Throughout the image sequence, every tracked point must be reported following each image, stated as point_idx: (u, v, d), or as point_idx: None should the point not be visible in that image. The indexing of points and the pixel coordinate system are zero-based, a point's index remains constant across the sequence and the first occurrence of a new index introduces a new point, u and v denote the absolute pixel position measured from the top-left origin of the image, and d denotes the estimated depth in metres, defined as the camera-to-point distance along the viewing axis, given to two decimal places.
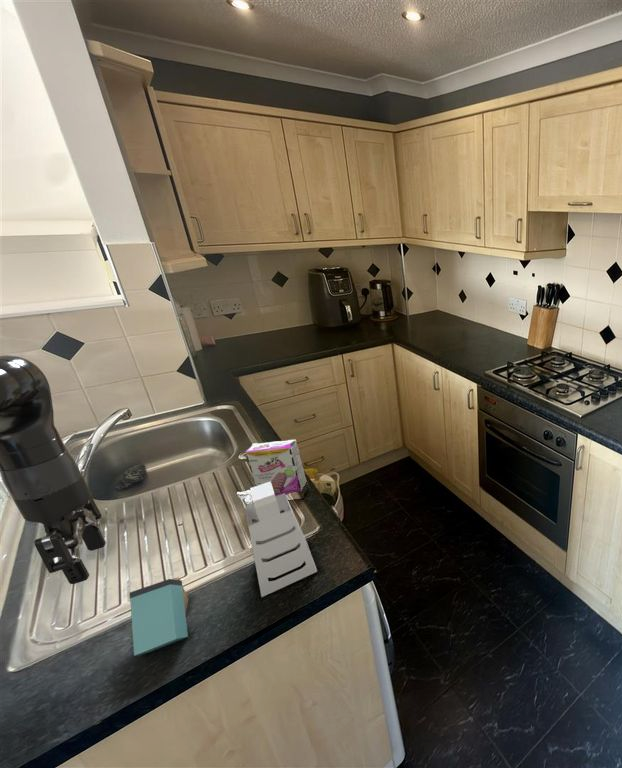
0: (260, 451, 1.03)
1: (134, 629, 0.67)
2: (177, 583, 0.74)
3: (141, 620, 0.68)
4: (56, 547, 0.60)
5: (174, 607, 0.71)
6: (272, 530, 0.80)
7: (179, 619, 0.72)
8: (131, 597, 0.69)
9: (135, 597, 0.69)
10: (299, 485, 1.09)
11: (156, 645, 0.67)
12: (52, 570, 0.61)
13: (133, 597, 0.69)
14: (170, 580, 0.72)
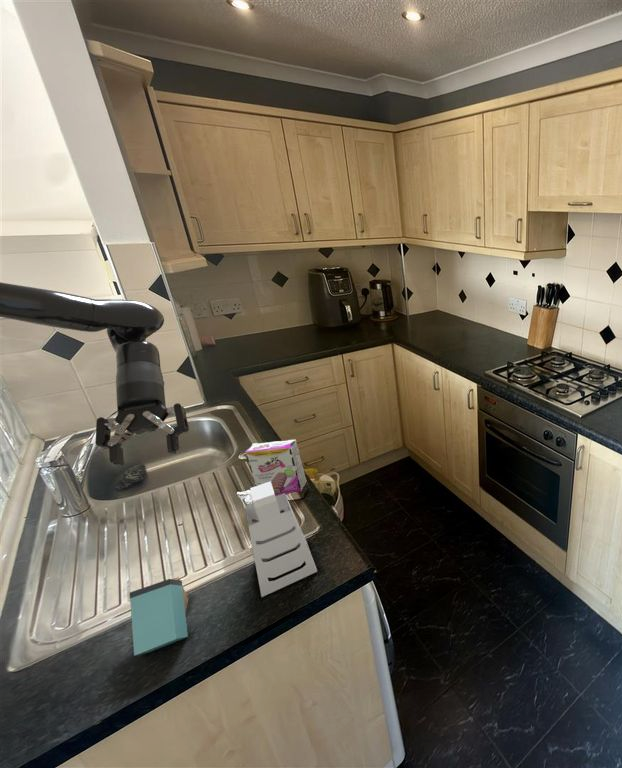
0: (260, 451, 1.03)
1: (134, 629, 0.67)
2: (177, 583, 0.74)
3: (141, 620, 0.68)
4: (185, 413, 0.87)
5: (174, 607, 0.71)
6: (272, 530, 0.80)
7: (179, 619, 0.72)
8: (131, 597, 0.69)
9: (135, 597, 0.69)
10: (299, 485, 1.09)
11: (156, 645, 0.67)
12: (185, 425, 0.85)
13: (133, 597, 0.69)
14: (170, 580, 0.72)
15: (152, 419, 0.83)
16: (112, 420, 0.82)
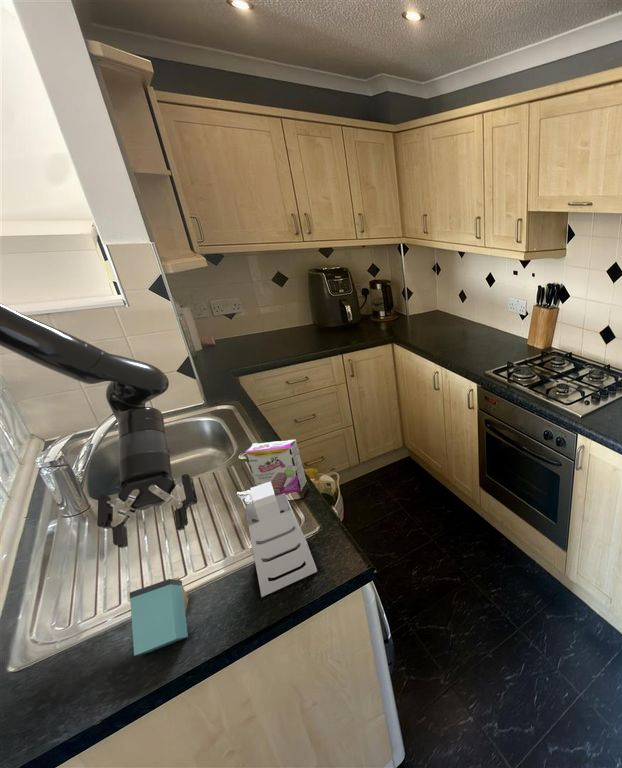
0: (260, 451, 1.03)
1: (134, 629, 0.67)
2: (178, 583, 0.74)
3: (141, 620, 0.68)
4: (193, 483, 0.82)
5: (174, 607, 0.71)
6: (272, 530, 0.80)
7: (179, 619, 0.72)
8: (131, 597, 0.69)
9: (135, 597, 0.69)
10: (299, 485, 1.09)
11: (156, 645, 0.67)
12: (194, 498, 0.80)
13: (133, 597, 0.69)
14: (170, 580, 0.72)
15: (159, 493, 0.78)
16: (114, 497, 0.76)
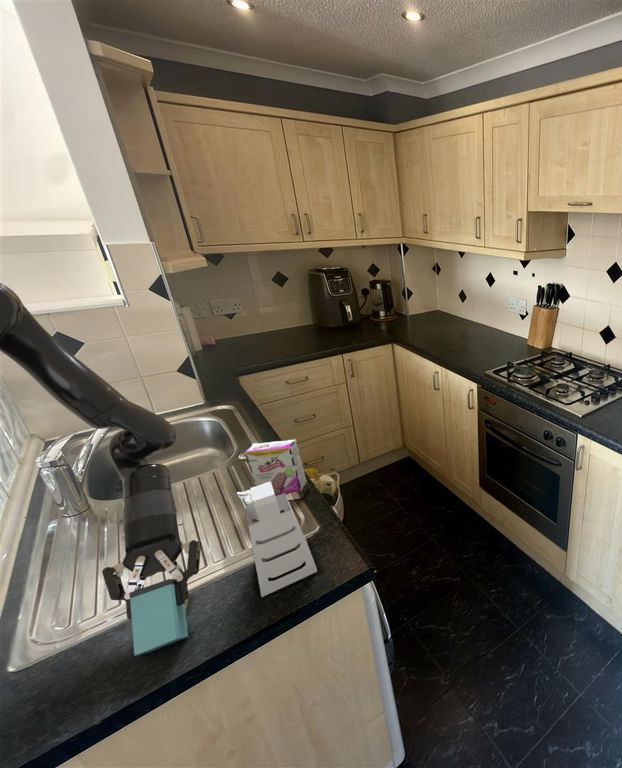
0: (260, 451, 1.03)
1: (134, 629, 0.67)
2: None
3: (141, 620, 0.68)
4: (199, 550, 0.78)
5: (174, 607, 0.71)
6: (272, 530, 0.80)
7: (179, 619, 0.72)
8: (131, 597, 0.69)
9: (135, 597, 0.69)
10: (299, 485, 1.09)
11: (156, 645, 0.67)
12: (195, 569, 0.75)
13: (133, 597, 0.69)
14: (170, 580, 0.72)
15: (163, 561, 0.73)
16: (119, 567, 0.72)
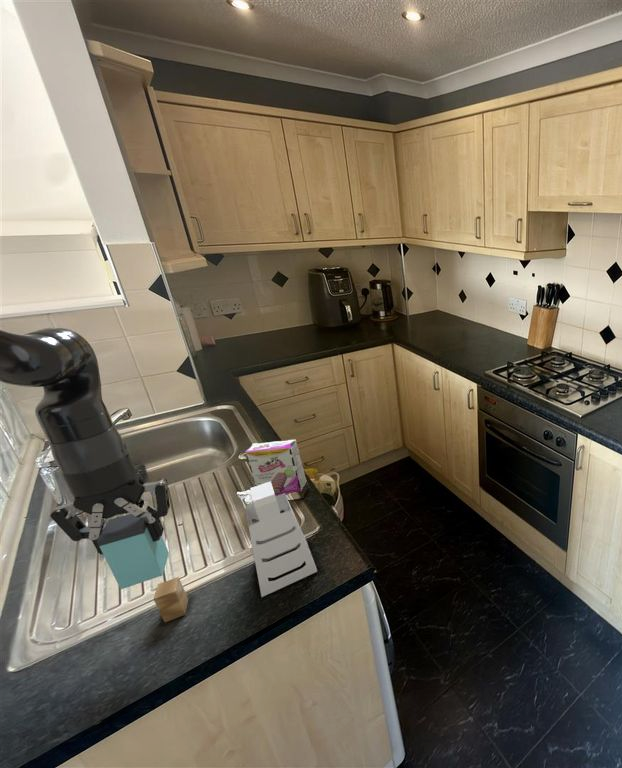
0: (260, 451, 1.03)
1: (113, 570, 0.65)
2: None
3: (119, 563, 0.65)
4: (167, 488, 0.69)
5: (153, 548, 0.68)
6: (272, 530, 0.80)
7: (159, 551, 0.70)
8: (100, 545, 0.63)
9: (105, 545, 0.64)
10: (299, 485, 1.09)
11: (142, 581, 0.68)
12: (167, 511, 0.69)
13: (103, 545, 0.64)
14: (143, 528, 0.66)
15: (127, 507, 0.65)
16: (71, 508, 0.62)
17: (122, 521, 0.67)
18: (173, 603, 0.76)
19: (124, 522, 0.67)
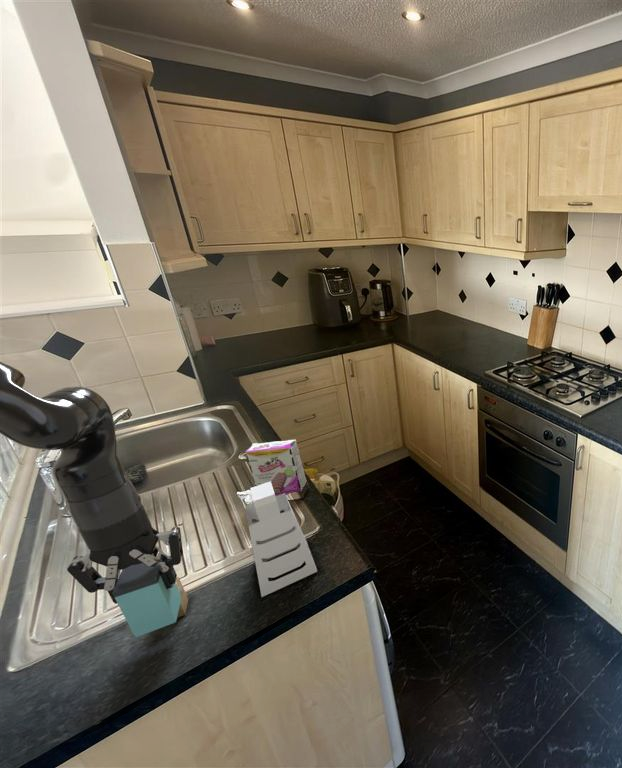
0: (260, 451, 1.03)
1: (128, 620, 0.66)
2: None
3: (134, 613, 0.66)
4: (180, 536, 0.70)
5: (167, 596, 0.69)
6: (272, 530, 0.80)
7: (173, 597, 0.71)
8: (115, 596, 0.64)
9: (120, 596, 0.65)
10: (299, 485, 1.09)
11: (156, 628, 0.69)
12: (180, 559, 0.70)
13: (118, 596, 0.65)
14: (156, 578, 0.67)
15: (141, 558, 0.66)
16: (87, 561, 0.63)
17: (136, 570, 0.68)
18: None
19: (138, 571, 0.68)
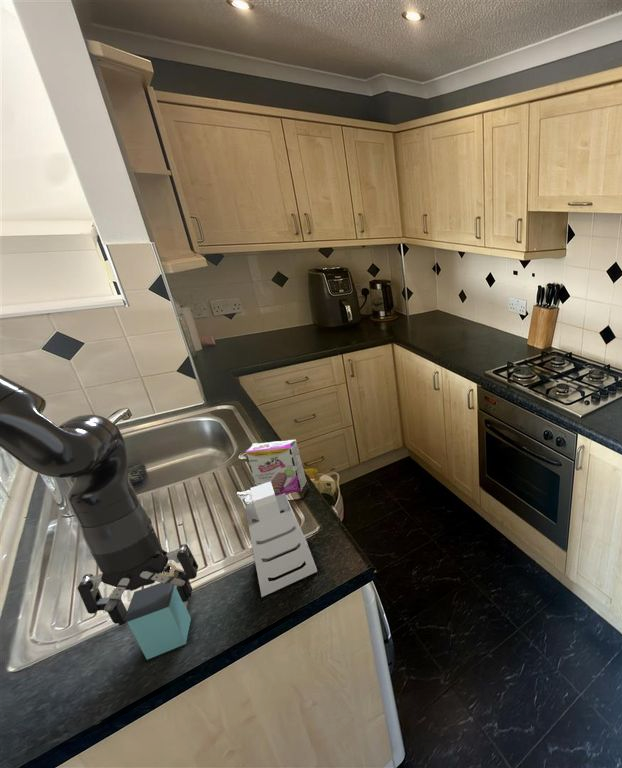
0: (260, 451, 1.03)
1: (140, 643, 0.68)
2: (172, 589, 0.72)
3: (146, 636, 0.68)
4: (190, 552, 0.71)
5: (177, 619, 0.71)
6: (272, 530, 0.80)
7: (183, 619, 0.73)
8: (128, 621, 0.66)
9: (132, 620, 0.67)
10: (299, 485, 1.09)
11: (167, 650, 0.71)
12: (196, 572, 0.72)
13: (130, 621, 0.66)
14: (167, 602, 0.69)
15: (154, 578, 0.68)
16: (97, 581, 0.65)
17: (147, 593, 0.70)
18: None
19: (149, 594, 0.70)
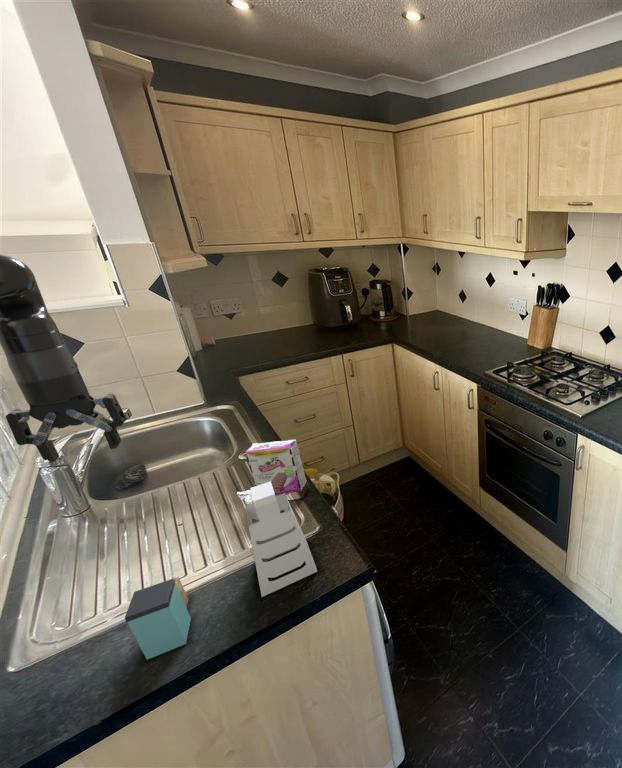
0: (260, 451, 1.03)
1: (140, 643, 0.68)
2: (172, 589, 0.72)
3: (146, 636, 0.68)
4: (117, 402, 0.77)
5: (177, 619, 0.71)
6: (272, 530, 0.80)
7: (183, 619, 0.73)
8: (128, 621, 0.66)
9: (133, 620, 0.67)
10: (299, 485, 1.09)
11: (167, 650, 0.71)
12: (123, 421, 0.78)
13: (130, 621, 0.66)
14: (167, 602, 0.69)
15: (80, 418, 0.74)
16: (25, 415, 0.71)
17: (147, 593, 0.70)
18: None
19: (149, 594, 0.70)
